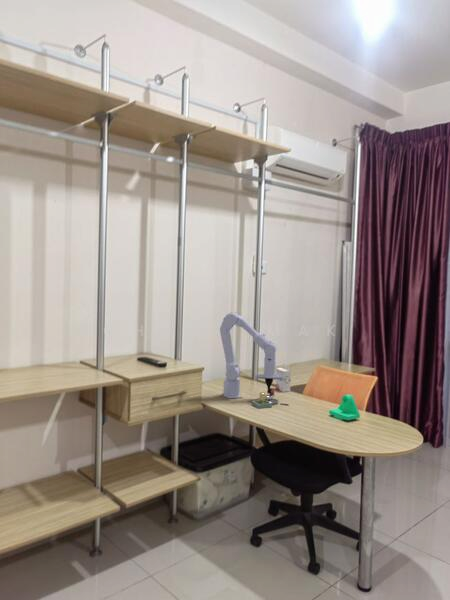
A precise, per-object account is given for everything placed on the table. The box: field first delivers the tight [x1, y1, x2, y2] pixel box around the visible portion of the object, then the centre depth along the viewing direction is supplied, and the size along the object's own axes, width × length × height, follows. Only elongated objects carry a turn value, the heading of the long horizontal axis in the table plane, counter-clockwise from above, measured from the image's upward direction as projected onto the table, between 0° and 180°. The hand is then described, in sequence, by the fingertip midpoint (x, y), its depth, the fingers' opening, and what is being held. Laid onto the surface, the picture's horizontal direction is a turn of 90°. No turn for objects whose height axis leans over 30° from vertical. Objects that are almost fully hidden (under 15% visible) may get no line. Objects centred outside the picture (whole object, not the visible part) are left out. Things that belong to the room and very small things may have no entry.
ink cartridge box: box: [275, 362, 292, 393], centre depth 271 cm, size 9×5×15 cm, turn 22°
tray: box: [251, 399, 273, 409], centre depth 237 cm, size 7×7×2 cm
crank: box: [265, 387, 276, 401], centre depth 246 cm, size 10×4×4 cm, turn 155°
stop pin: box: [259, 392, 266, 404], centre depth 237 cm, size 3×3×6 cm
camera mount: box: [328, 394, 361, 421], centre depth 221 cm, size 12×8×10 cm, turn 32°
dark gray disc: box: [255, 397, 279, 406], centre depth 244 cm, size 11×11×1 cm
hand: (268, 393), depth 250 cm, fingers closed, pressing on crank
